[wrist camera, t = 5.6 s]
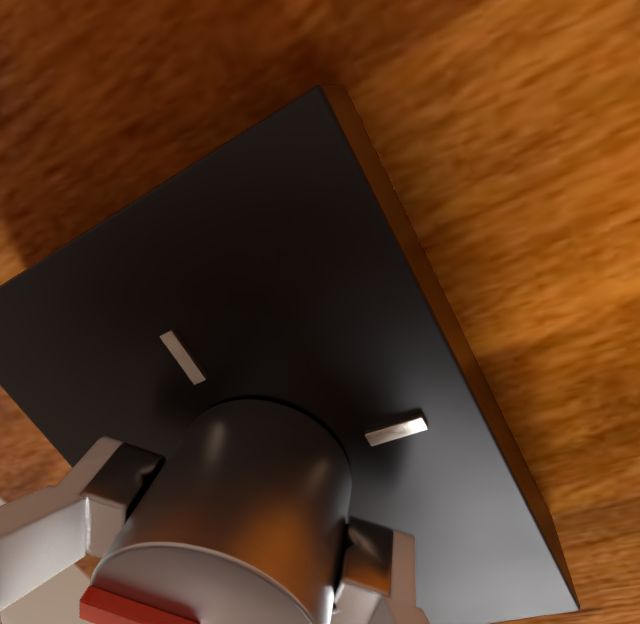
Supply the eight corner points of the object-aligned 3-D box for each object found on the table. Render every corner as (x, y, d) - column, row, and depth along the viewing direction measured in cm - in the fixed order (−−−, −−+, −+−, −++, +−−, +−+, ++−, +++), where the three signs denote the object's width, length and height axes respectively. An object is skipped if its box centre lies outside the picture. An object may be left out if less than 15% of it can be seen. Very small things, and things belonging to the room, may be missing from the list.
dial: (374, 431, 11) (351, 620, 7) (327, 552, 13) (290, 749, 9) (193, 374, 11) (76, 526, 7) (175, 501, 13) (76, 673, 9)
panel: (552, 517, 15) (583, 618, 12) (264, 578, 19) (238, 665, 16) (343, 83, 11) (317, 82, 8) (29, 278, 14) (-63, 324, 12)
